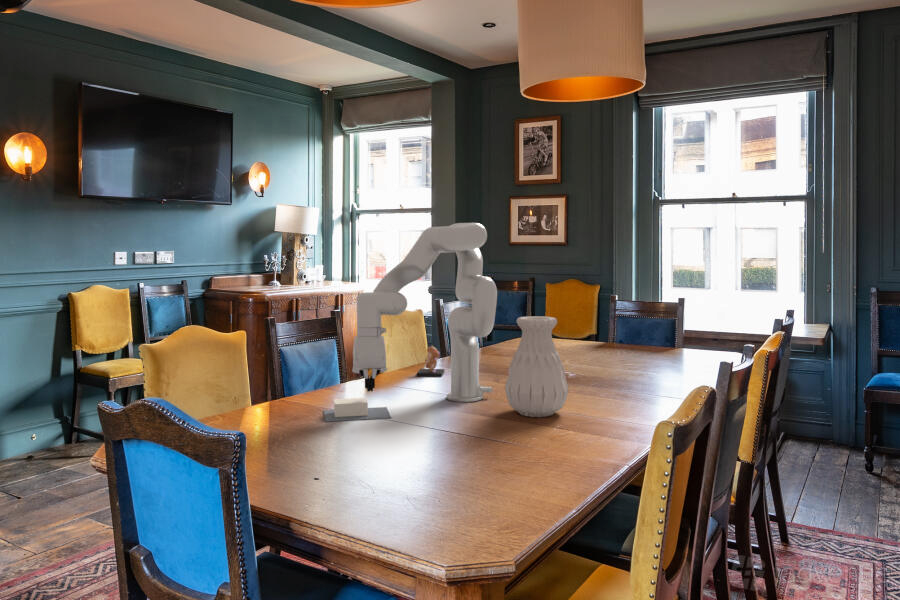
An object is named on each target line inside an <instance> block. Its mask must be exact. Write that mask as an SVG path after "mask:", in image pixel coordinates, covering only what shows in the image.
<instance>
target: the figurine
mask: <svg viewBox="0 0 900 600" xmlns="http://www.w3.org/2000/svg"><path fill="white" fill-rule="evenodd" d="M439 358H440V351H439V350H438V348H437V347H435V346H434V345H433V344H432V345H431V346H429V347H427V349H426V358H425V360H424V361H425V366H424V368H420V369H418V371H417V372H416V377H419V378H421V377H422V378H423V377H424V378H442V377H443V376H444V374H445V368H436V367H437V365H438V360H439Z"/></svg>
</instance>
